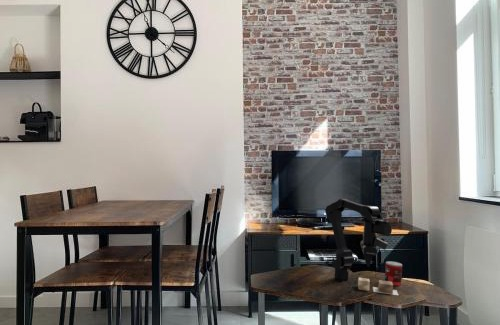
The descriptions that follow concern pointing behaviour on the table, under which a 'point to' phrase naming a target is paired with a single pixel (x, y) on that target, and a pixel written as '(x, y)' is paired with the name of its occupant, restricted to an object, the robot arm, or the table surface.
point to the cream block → (385, 286)
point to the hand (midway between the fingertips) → (367, 264)
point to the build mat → (383, 292)
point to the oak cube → (363, 284)
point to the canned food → (393, 272)
